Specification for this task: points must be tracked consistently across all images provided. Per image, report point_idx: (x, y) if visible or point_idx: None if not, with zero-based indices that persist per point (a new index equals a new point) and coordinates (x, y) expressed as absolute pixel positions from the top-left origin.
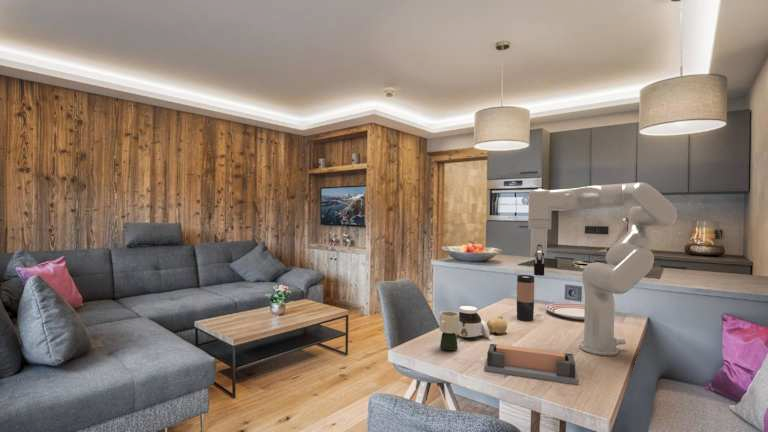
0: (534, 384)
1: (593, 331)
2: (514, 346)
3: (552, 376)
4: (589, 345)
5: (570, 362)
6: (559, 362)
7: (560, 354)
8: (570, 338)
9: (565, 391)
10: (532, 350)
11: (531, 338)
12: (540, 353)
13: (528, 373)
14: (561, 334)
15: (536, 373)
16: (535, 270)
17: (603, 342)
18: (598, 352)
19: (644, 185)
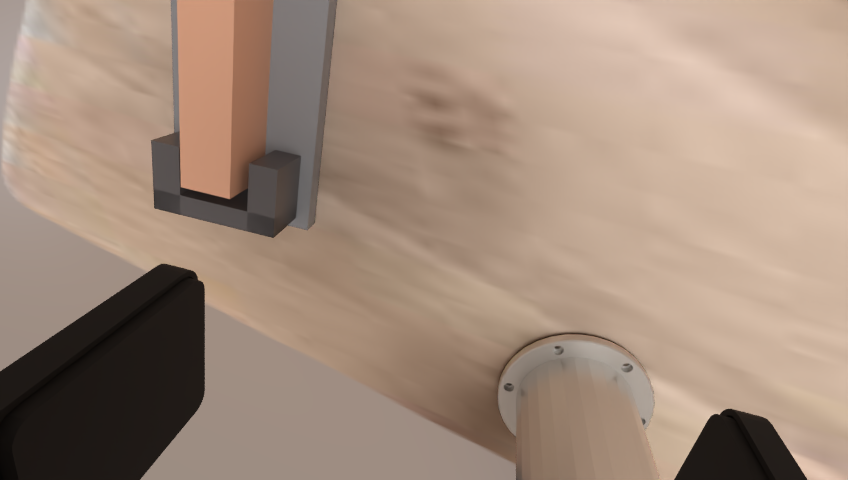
0: (130, 27)
1: (534, 427)
2: None
3: (175, 110)
4: (547, 370)
5: (168, 196)
6: (152, 150)
7: (198, 175)
8: (737, 345)
9: (119, 130)
10: (206, 49)
11: (744, 147)
12: (179, 82)
13: (173, 13)
14: (813, 327)
15: (174, 48)
16: (104, 325)
17: (516, 423)
18: (503, 375)
19: None
